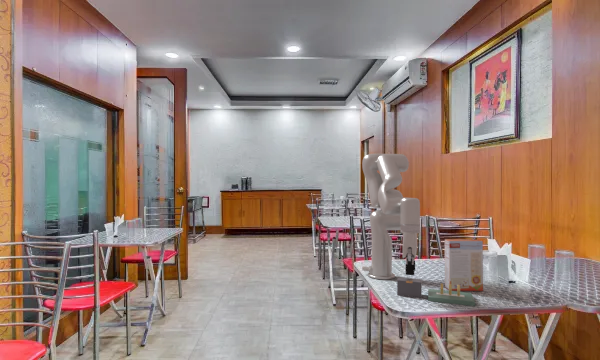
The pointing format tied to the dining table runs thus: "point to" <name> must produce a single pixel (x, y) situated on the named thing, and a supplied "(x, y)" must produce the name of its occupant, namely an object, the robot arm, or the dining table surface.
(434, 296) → the header board
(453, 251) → the cracker box
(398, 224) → the robot arm
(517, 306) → the dining table surface
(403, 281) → the block
